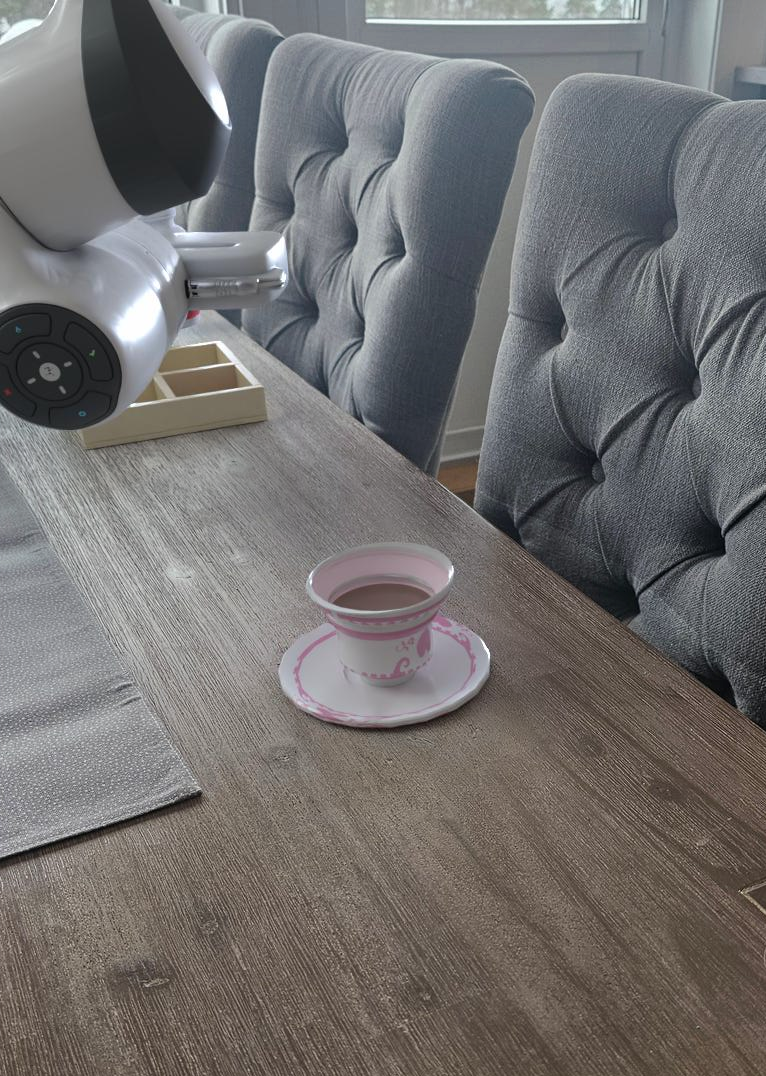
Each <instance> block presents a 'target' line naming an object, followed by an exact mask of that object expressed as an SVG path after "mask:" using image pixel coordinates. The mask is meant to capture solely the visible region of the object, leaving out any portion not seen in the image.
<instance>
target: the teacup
mask: <svg viewBox="0 0 766 1076" xmlns="http://www.w3.org/2000/svg"><path fill="white" fill-rule="evenodd" d="M454 569H455V568H454V565H453V564H452V562H451V560H450V559H449V557H447V555H445V554H444V553H443V552H442V551H440V550H438V549H436V548H434V547H431V546H428V545H426V544H421V543H415V542H410V541H409V542H408V541H382V542H372V543H366V544H362V545H358V546H354V547H351V548H347V549H344V550H343V551H339V552H338V553H335V554H333V555H331V556H329V557H328V558H326V559H325V560H323V561H322V562H320V563H319V564H317V566H316V567H315V568H314V569H313V570H312V571H311V572H310V573H309V575H308V577H307V579H306V583H305V590H306V592H307V595H308V596H309V598H310V599H311V600H312V601H313V603H314V604H315V605H316V606H317V607H318V608H319V609H320V610H321V611H322V612H324V616H325V619H326V620H327V622H325V623H322V624H320V625H319V626H317V627H315V628H313V629H312V630H310V631H308V632H306V633H304V634H303V635H301V636H299V637H298V638H297V639H296V641H294V642H293V643H292V644H291V646H289V648H288V649H286V650H285V651H284V653H283V655H282V658H281V660H280V663H279V667H278V670H277V673H278V679H279V683H280V686H281V690H282V693H283V695H284V696H286V697H287V699H288V700H289V701H290V702H291V704H293V705H294V706H295V707H296V708H297V709H298V710H300V711H303V712H304V713H306V714H308V715H310V716H313V717H315V718H317V719H318V720H321V721H323V722H327V723H332V724H337V725H342V726H347V727H353V728H396V727H401V726H407V725H413V724H419V723H424V722H429V721H430V720H433V719H435V718H438V717H440V716H444V715H445V714H448V713H451V712H453V711H456V710H457V709H459V708H460V707H461V706H463V705H464V704H466V703H468V702H469V701H470V700H471V699H473V698H474V697H475V696H478V695H479V693H480V691H481V689H482V688H483V686H484V685H485V683H486V682H487V680H488V679H489V677H490V669H491V653H490V652H489V649H488V648H487V646H486V644H485V642H484V640H483V639H482V637H481V636H479V635H478V634H477V633H475V632H474V631H472V630H471V629H470V628H468V627H467V626H466V625H465V624H463V623H460V622H457V621H455V620H452V619H449V618H447V617H444V616H441V615H439V611H440V607H441V604H443V603H444V602H445V600H446V599H447V597H448V596H449V594H450V592H451V590H452V587H453V582H454V581H453V580H454V575H455V570H454Z"/></svg>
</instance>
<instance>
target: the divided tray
mask: <svg viewBox="0 0 766 1076" xmlns="http://www.w3.org/2000/svg"><path fill="white" fill-rule="evenodd" d="M263 421H269V417H268V408H267V400H266V393H265V387H264V385H263V384H262V383H261V382H260V381H259V380H258V379H257V378H256V376H254V375H253V373H252V372H251V371H250V370H249V369H248V368H247V367H246V366H245V365H244V364H243V363H242V361H241V360H240V359H239V358H238V357H237V356H236V354H234V352H232V350H231V349H230V348H229V347H228V346H227V345H226V344H225V342H223V340H215V341H208V342H200V343H193V344H186V345H180V346H171V348H170V349H169V351H168V352H167V353H166V355H165V356H164V357H163V360H162V362H161V364H160V367H159V369H158V370H157V372H156V374H155V376H154V377H153V379H152V380H151V382H150V383H149V385H148V386H147V387H146V389H145V390H144V391H143V392H142V393H141V395H140V396H139V397H138V398H137V399H136V400H135V401H134V402H133V403H132V404H131V405H130V406H129V407H128V408H127V409H126V410H125V411H123V412H122V413H121V414H120V415H118V416H117V417H116V418H114V419H112V420H110V421H109V422H107V423H105V424H102V425H100V426H97V427H94V428H90V429H84V430H78V431H77V433H78V436H79V438H80V440H81V443H82V445H83V447H84V449H85V451H89V450H94V449H99V448H105V447H112V446H118V445H124V444H130V443H131V444H132V443H136V442H143V441H149V440H154V439H161V438H166V437H173V436H179V435H184V434H190V433H197V432H203V431H209V430H215V429H221V428H226V427H234V426H238V425H246V424H252V423H257V422H263Z"/></svg>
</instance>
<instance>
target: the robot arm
mask: <svg viewBox="0 0 766 1076" xmlns="http://www.w3.org/2000/svg"><path fill="white" fill-rule="evenodd" d="M232 130H233V123H232V121H231V118H230V115H229V109H228V106H227V101H226V98H225V95H224V93H223V90H222V87H221V83H220V82H219V79H218V77H217V75H216V73H215V71H214V69H213V67H212V66H211V64H210V62H209V60H208V58H207V57H206V55H205V54H204V52H203V51H202V49H201V47H200V46H199V45H198V43H197V41H196V40H195V39H194V37H193V36H192V35H191V33H190V31H188V29H187V28H186V27H185V26H184V24H183V23H182V22H181V21H180V20H179V18H178V17H177V16H176V15H175V14H174V12H172V10H171V9H170V8H169V6H168V5H166V3H165V2H164V1H163V0H55V2H54V3H53V6H52V8H51V10H50V11H49V13H48V14H47V15H46V16H45V17H44V19H42V21H40V23H38V24H36V25H34V27H32V28H30V29H27V30H26V31H24V32H22V33H20V34H18V35H16V36H14V37H12V38H11V39H9V40H7V41H5V42H3V43H1V44H0V406H1V408H3V409H4V410H5V411H6V412H8V413H10V414H11V415H13V416H14V417H16V418H18V419H19V420H21V421H24V422H25V423H28V424H31V425H34V426H37V427H41V428H45V429H49V430H54V431H62V432H76V431H77V432H78V430H84V429H90V428H94V427H97V426H100V425H102V424H105V423H107V422H109V421H110V420H112V419H114V418H116V417H117V416H118V415H120V414H121V413H122V412H123V411H125V410H126V409H127V408H128V407H129V406H130V405H131V404H132V403H133V402H134V401H135V400H136V399H137V398H138V397H139V396H140V395H141V393H142V392H143V391H144V390H145V389H146V387H147V386H148V385H149V383H150V382H151V380H152V379H153V377H154V376H155V374H156V372H157V370H158V369H159V367H160V364H161V362H162V360H163V357H164V356H165V355H166V353H167V352H168V351H169V349H170V348H171V347H173V344H174V342H175V341H176V338H177V337H178V335H179V334H180V332H181V330H182V329H181V328H182V326H183V325H184V322H185V320H186V318H187V314H188V311H190V310H200V311H220V310H221V311H222V310H224V311H225V310H245V309H255V308H261V307H264V306H267V305H270V304H271V303H273V302H274V301H276V300H277V299H278V298H279V297H280V296H281V295H282V293H284V291H285V290H286V289H287V287H288V285H289V280H290V279H289V278H290V277H289V263H288V252H287V246H286V239H285V237H284V235H283V234H282V233H280V232H277V231H273V230H272V231H271V230H257V231H256V230H255V231H254V230H253V231H248V230H247V231H216V232H215V231H214V232H209V231H197V232H187V233H170V234H160V233H159V232H158V231H156V230H155V229H153V228H152V227H151V226H149V225H147V224H146V223H144V222H141V221H139V220H137V218H139V217H141V216H150V215H153V214H156V213H159V212H161V211H164V210H167V209H170V208H172V207H175V208H176V207H178V206H181V205H183V204H187V203H189V202H192V201H195V200H197V199H198V200H199V199H201V198H203V197H206V196H207V195H208V194H209V191H210V190H211V189H212V186H213V184H214V182H215V181H216V178H217V176H218V174H219V171H220V169H221V166H222V164H223V161H224V159H225V156H226V153H227V150H228V147H229V142H230V139H231V134H232Z"/></svg>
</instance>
